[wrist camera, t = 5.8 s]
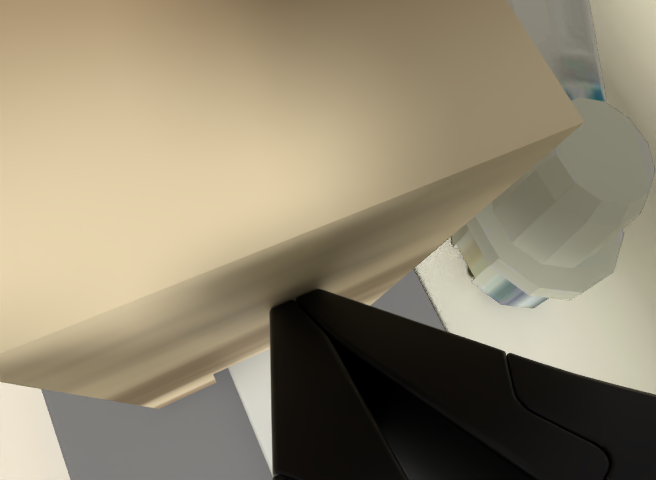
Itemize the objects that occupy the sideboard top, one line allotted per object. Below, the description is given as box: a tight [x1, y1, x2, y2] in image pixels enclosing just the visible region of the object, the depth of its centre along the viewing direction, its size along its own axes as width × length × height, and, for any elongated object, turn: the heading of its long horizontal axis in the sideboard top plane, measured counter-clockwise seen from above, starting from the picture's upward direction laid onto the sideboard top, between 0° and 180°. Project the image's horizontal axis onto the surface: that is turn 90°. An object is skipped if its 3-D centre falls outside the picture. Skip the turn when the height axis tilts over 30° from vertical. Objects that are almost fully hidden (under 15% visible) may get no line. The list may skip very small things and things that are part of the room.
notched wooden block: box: [0, 0, 585, 409], centre depth 11 cm, size 5×6×12 cm
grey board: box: [41, 269, 445, 480], centre depth 15 cm, size 30×12×4 cm, turn 25°
